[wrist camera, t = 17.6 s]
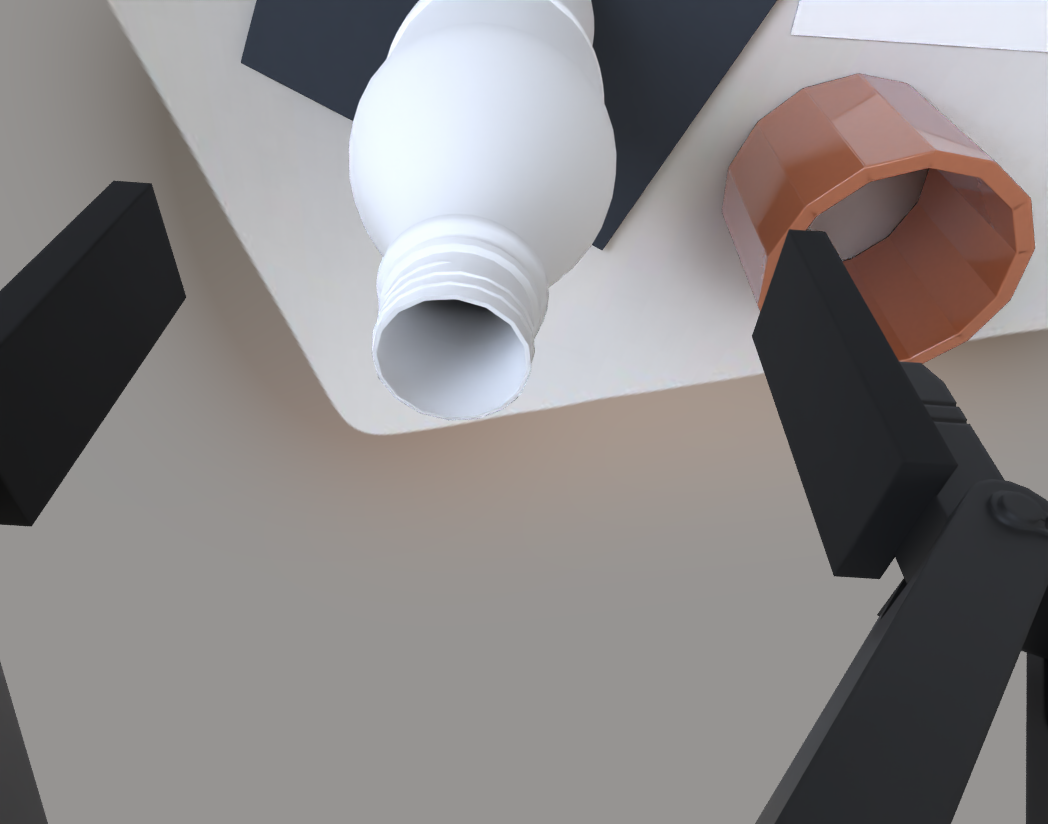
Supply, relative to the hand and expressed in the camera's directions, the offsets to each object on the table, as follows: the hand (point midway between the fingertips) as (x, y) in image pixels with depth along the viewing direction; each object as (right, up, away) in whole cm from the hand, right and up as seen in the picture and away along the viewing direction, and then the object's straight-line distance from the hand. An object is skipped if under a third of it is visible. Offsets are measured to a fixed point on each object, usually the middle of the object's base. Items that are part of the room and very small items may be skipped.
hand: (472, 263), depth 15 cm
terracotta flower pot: (+17, +8, +22) cm, 29 cm away
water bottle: (+1, +15, +16) cm, 22 cm away
